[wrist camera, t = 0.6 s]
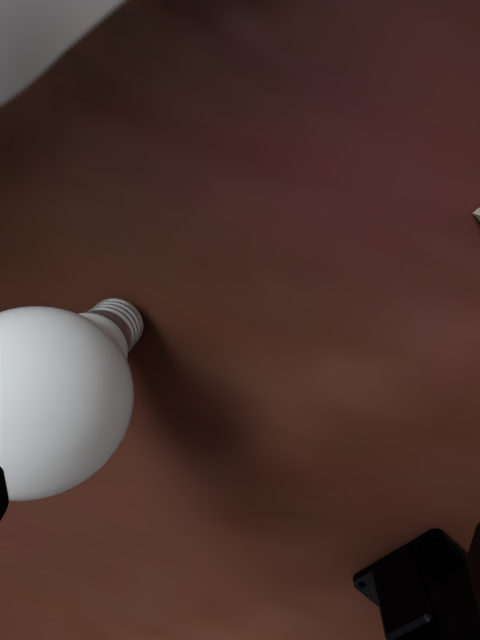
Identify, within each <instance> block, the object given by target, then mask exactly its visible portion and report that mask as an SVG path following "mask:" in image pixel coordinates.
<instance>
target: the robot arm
mask: <svg viewBox="0 0 480 640" xmlns="http://www.w3.org/2000/svg"><path fill="white" fill-rule="evenodd" d="M8 503H9V495H8V490H7V485H6V480H5V475H4V470H3V469H2V467H1V466H0V521H1V519H2V517H3V516H4V514H5V512H6V510H7V507H8ZM435 538H436V539H435ZM353 582H354V586H355V588H356V589H357V590H359V591H360V592H361V593H362V594H364V595H365V596H366V597H367V598H368V599H370V600H371V601H372V602H373V603H375V604H376V605H377V606H378V607H379V609H380V614H381V619H382V624H383V629H384V634H385V637H386V640H480V523H478V524H477V526H476V529H475V532H474V535H473V539H472V542H471V546H470V549H469V552H468V553H467V552H465V551H464V550H463V549H462V548H461V547H460V546H459V545H458V544H457V543H456V542H454V541H453V540H452V539H451V538H450V537H449V536H448V535H447V534H446V533H444V532H443V531H442V530H440V529H431V530H429V531H427V532H426V533H424V534H422V535H421V536H419V537H417V538H416V539H414V540H412V541H411V542H409V543H407V544H405V545H404V546H402V547H400V548H399V549H397V550H395V551H394V552H392V553H390V554H389V555H387V556H385V557H384V558H382V559H380V560H378V561H377V562H375V563H373V564H372V565H370V566H368V567H367V568H365V569H363V570H362V571H360V572H358V573H356V574H355V575H354V576H353Z"/></svg>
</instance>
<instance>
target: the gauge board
mask: <svg viewBox="0 0 480 640" xmlns="http://www.w3.org/2000/svg"><path fill="white" fill-rule="evenodd" d="M473 214H474V216H475V217H476V218H477V219H478V220H479V221H480V207H479V208H478V209H477V210H476V211H475V212H473Z"/></svg>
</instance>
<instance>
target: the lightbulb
mask: <svg viewBox="0 0 480 640" xmlns="http://www.w3.org/2000/svg"><path fill="white" fill-rule="evenodd" d="M143 327H144V325H143V319H142V317H141V314H140V313H139V311H138V310H137V309H136V307H135V306H133V305H132V304H131V303H129V302H128V301H126V300H123V299H120V298H107V299H104V300H102V301H100V302H99V303H98V304H97V305H95V306H94V307H93V308H91V309H90V310H89V311H87V312H86V313H79V314H77V313H74V312H71V311H68V310H64V309H60V308H54V307H45V306H28V307H19V308H14V309H9V310H5V311H2V312H0V466H1V467H2V469H3V470H4V475H5V480H6V485H7V490H8V495H9V501H31V500H38V499H44V498H48V497H52V496H55V495H58V494H61V493H63V492H66V491H68V490H70V489H72V488H74V487H76V486H78V485H80V484H81V483H83V482H84V481H86V480H87V479H89V478H90V477H91V476H93V475H94V474H95V473H96V472H97V471H99V470H100V469H101V468H102V467H103V466H104V465H105V464H106V463H107V462H108V460H109V459H110V458H111V457H112V456H113V454H114V453H115V452H116V450H117V449H118V447H119V445H120V444H121V442H122V440H123V438H124V436H125V434H126V432H127V430H128V427H129V424H130V421H131V417H132V412H133V406H134V384H133V378H132V374H131V370H130V367H129V364H128V362H127V358H128V352H129V351H130V350H131V349H132V348H133V346H134V345H135V344H136V343H137V342H138V340H139V339H140V337H141V335H142V333H143Z"/></svg>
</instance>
